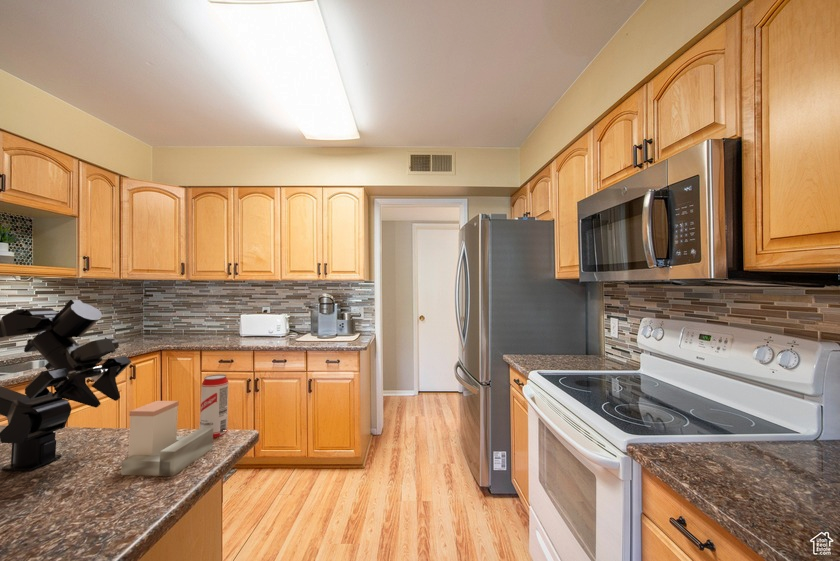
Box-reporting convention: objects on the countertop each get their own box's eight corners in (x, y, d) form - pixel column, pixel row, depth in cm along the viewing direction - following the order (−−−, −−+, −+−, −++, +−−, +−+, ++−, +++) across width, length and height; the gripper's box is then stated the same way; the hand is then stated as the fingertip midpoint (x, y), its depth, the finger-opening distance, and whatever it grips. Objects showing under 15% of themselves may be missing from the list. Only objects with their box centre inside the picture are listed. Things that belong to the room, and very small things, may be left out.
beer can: (214, 444, 86) (216, 380, 87) (193, 441, 87) (195, 378, 88) (232, 434, 92) (234, 374, 93) (212, 432, 94) (214, 373, 94)
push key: (127, 467, 72) (129, 411, 72) (154, 452, 79) (156, 400, 79) (151, 468, 71) (153, 411, 72) (176, 452, 79) (178, 401, 79)
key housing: (85, 488, 66) (86, 456, 66) (158, 447, 84) (159, 422, 84) (166, 490, 66) (167, 458, 66) (222, 448, 84) (223, 423, 84)
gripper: (42, 330, 67) (94, 388, 67) (125, 323, 86) (166, 368, 85) (0, 370, 67) (52, 428, 66) (93, 354, 86) (134, 399, 85)
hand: (108, 402), depth 76 cm, fingers open, 4 cm apart
